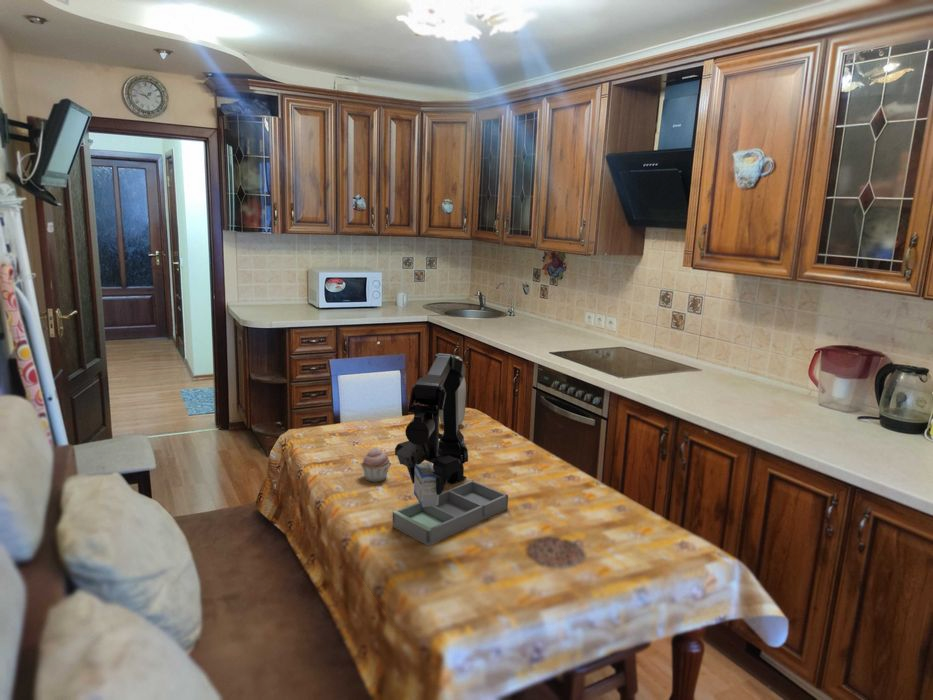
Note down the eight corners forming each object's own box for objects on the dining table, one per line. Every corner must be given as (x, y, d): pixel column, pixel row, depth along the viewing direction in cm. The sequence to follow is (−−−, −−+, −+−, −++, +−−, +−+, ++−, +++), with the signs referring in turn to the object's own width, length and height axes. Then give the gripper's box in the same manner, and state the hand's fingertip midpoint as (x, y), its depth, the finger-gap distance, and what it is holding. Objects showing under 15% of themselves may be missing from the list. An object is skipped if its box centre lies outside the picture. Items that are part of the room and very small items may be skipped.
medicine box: (413, 494, 164) (413, 463, 162) (430, 492, 166) (430, 461, 164) (422, 507, 157) (422, 475, 155) (439, 505, 158) (439, 473, 156)
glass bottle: (438, 422, 247) (439, 352, 242) (464, 422, 248) (466, 353, 242) (438, 430, 238) (440, 358, 232) (465, 430, 239) (468, 358, 233)
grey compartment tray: (392, 526, 163) (392, 511, 163) (472, 492, 185) (472, 479, 184) (428, 546, 154) (428, 530, 153) (507, 508, 176) (508, 494, 175)
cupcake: (396, 475, 195) (397, 445, 193) (380, 486, 187) (380, 455, 185) (371, 469, 199) (371, 440, 197) (354, 480, 191) (354, 449, 189)
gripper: (378, 428, 158) (378, 486, 161) (429, 448, 145) (428, 511, 148) (411, 418, 166) (411, 474, 169) (463, 437, 153) (461, 496, 156)
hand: (426, 488), depth 160 cm, fingers closed on medicine box, 9 cm apart
